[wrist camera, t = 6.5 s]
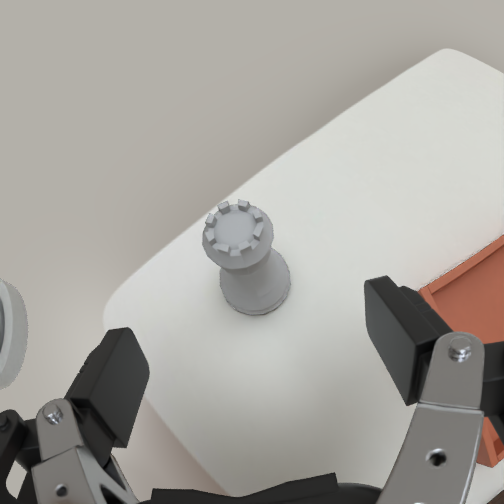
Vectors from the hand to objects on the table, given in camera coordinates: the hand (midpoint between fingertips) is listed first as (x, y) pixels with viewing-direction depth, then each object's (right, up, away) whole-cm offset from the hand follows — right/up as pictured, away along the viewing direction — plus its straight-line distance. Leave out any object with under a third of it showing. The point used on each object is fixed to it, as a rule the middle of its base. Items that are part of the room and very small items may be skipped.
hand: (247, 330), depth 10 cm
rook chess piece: (0, 0, +11) cm, 11 cm away
